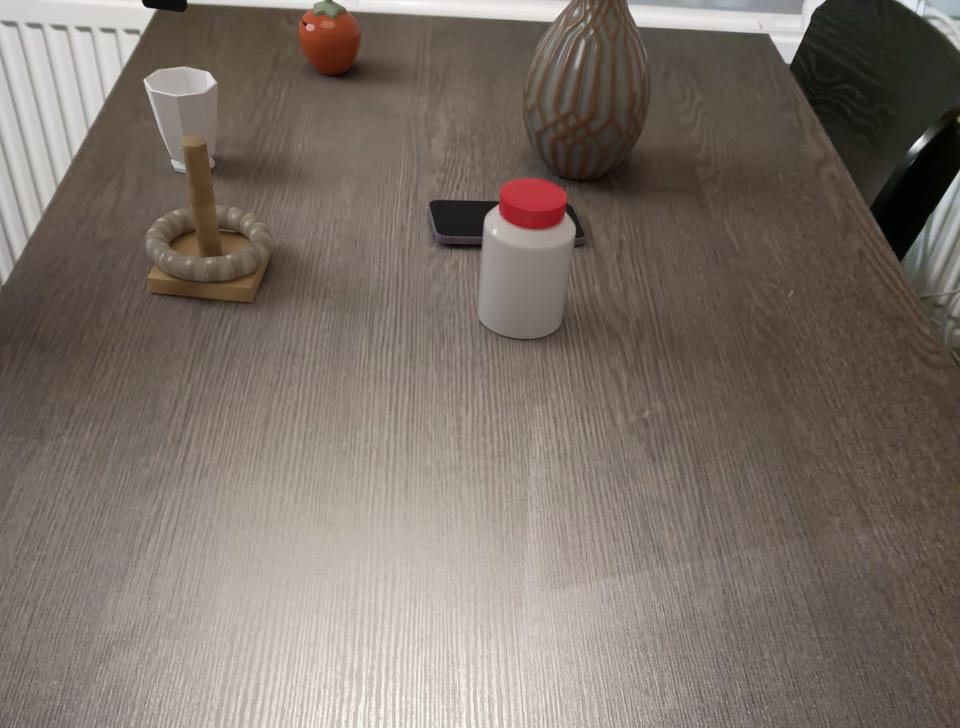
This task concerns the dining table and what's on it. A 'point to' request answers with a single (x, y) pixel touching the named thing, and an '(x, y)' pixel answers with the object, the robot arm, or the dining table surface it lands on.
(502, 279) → the pill bottle
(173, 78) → the cup
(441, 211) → the smartphone
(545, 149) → the vase
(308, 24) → the tomato
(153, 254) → the ring
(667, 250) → the dining table surface
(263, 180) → the dining table surface
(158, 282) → the post
